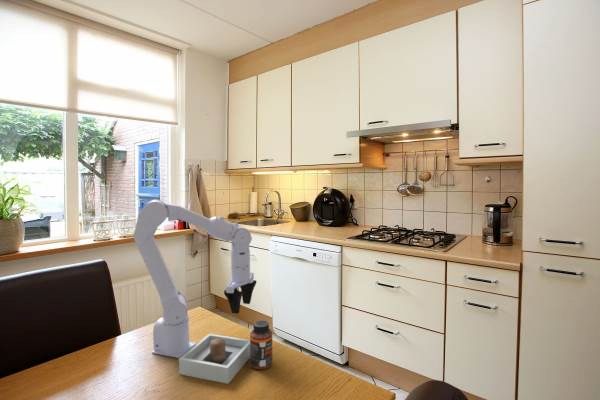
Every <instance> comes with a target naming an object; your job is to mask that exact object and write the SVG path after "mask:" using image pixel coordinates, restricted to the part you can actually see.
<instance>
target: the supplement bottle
mask: <svg viewBox="0 0 600 400" xmlns="http://www.w3.org/2000/svg"><path fill="white" fill-rule="evenodd" d="M269 324H270V323H269V322H268V321H267V320H257V321H255V322H254V323H253V329H252V330H251V332H250V334H249V340H250V358H249V359H250V360H249V361H250V366H251V367H252V368H253V369H255V370H260V371H262V370H266V369H268V368H270V367H271V366H272V364H273V331H272V330H271V329H270V328H269V327H270V325H269Z"/></svg>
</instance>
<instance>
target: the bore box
mask: <svg viewBox="0 0 600 400" xmlns="http://www.w3.org/2000/svg"><path fill="white" fill-rule="evenodd" d="M214 339H224V340H225V353H226V360H225V362H224V363H223V364H218V363H212V362H210V342H211V341H212V340H214ZM249 359H250V339H247V338H239V337H234V336H227V335H221V334H213V333H208V334H207V335H205V337H203V338H202V339H201V340H200V341H199V342H198V343H196V345H194V346H193V347H192V348H191V349H190V350H188V351H187V352H186V353H185V354H184V355H182V356H181V357H180V358H178V373H179V375H182V376H187V377H193V378H198V379H201V380H202V379H203V380H208V381H210V382H211V381H213V382H218V383H220V384H227V385H228V384H230V382H231V381H232V380H233V379H234V378H235V376H236V375H237V373H239V371H241V369H242V368H243V366H244V365H245V364H246V363H247V361H248V360H249Z"/></svg>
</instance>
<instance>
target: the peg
mask: <svg viewBox="0 0 600 400" xmlns="http://www.w3.org/2000/svg"><path fill="white" fill-rule="evenodd" d="M226 359H227V358H226V353H225V340H224V339H214V340H212V341H211V342H210V360H209V362H212V363H218V364H223V363H224V362H225V360H226Z"/></svg>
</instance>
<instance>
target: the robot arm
mask: <svg viewBox="0 0 600 400" xmlns="http://www.w3.org/2000/svg"><path fill="white" fill-rule="evenodd" d="M166 219H168V220H167V221H168V222H172V221H177V220H180V221H182V222H186V223H189V224H192V225H194V226H197V227H200V228H203V229H205V231H206V234H207V235H209V236H212V237H215V238H217V239H219V240H223V241H226V242H230V243H231V247H230V248H231V249H230V264H231V265H230V268H231V269H230V271H231V273H230V274H231V275H230V276H231V278H230V279H229V280H230V281H229V282H228V285H226V287H225V288H226V289H224V290H223V294H224V296H225V298H226V299H227V301H228V303H229V307H230V311H231V313H232V314H236V315H238V314H239V313H240V310H241V300H242V303H243V304H245V305H250V304H251V300H252V296H253V291H254V289H255V286H256V284H257V280H254V278H255V277H254V275H255V274H254V272H251V256H250V255H251V254H250V253H251V251H250V250H251V249H250V244H251V242H252V239H253V237H252V234H251V232H250V231H249V230H248V229H247V228H246V227H244V226H242V225H240V224H239V223H238V222H230V221H229V220H226V219H225V218H224V217H223V216H221V215H219V216H212V217H211V218H210V217H209V218H208V217H206V216H204V215H202V214H200V213H197V212H194V211H193V210H191V209H188V208H185V207H183V206H180V205H177V204H175V203H170V202H167V201H166V202H164V201H163V200H160V199H151V200H149V201H147V203H146V204H145V205H143V207H142V209H141V210H140V211H139V213H138V215H137V221H136V224H135V227H134V232H133V236H132V237H133V239H134V242H135V244H136V247H137V249H138V252H139V253H140V255H141V258H142V259H143V262H144V264H145V266H146V269H147V271H148V273H149V275H150V278H151V280H152V282H153V284H154V285H155V288H156V290H157V293H158V296H159V298H160V303H161V305H162V308H163V314H162V316H163V317H160V318H158V319H157V321H155V323H154V325H153V329H152V338H153V340H152V341H153V350H152V351H151V354H156V355H160V356H166V357H172V358H176V359H179V358H181V357H182V356H183V355H184V354H185V353H187V352H188V351H189V350H190V349H191V348H193V347H194V346H195V345H196V344H197V343H196V342H193V341H190V324H189V322H190V319H189V318H190V316H189V314H188V308H187V297H186V296H185V295H184V294H183V293H182V292H181V291H180V290H179V289H178V287H177V285H176V283H175V281H174V280H173V277H172V275H171V272H170V271H169V268H168V266H167V264H166V261H165V260H164V257H163V255H162V252H161V250H160V248H159V245H158V244H157V241H156V238H155V237H154V236H155V233H156V232H157V230H158V227H160V226H161V225H162V224H163V223H164V222H165V220H166ZM239 288H240V290H238V289H239Z"/></svg>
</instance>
